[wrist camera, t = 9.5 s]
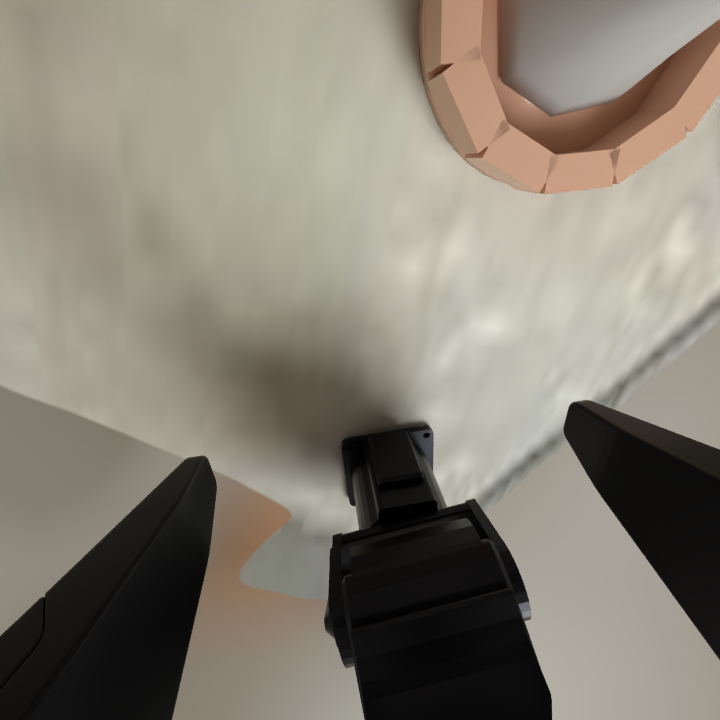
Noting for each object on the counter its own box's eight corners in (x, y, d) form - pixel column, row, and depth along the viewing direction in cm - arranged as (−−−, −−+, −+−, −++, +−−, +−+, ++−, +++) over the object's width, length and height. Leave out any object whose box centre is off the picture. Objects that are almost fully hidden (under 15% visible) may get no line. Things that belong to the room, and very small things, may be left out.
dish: (656, 172, 19) (710, 175, 17) (419, 199, 19) (438, 206, 16) (770, -232, 13) (885, -329, 10) (416, -224, 12) (447, -328, 10)
